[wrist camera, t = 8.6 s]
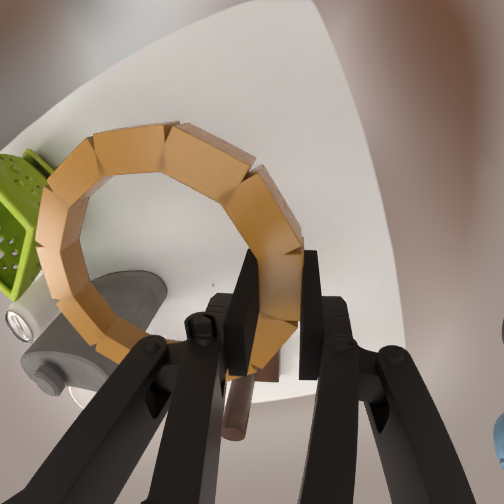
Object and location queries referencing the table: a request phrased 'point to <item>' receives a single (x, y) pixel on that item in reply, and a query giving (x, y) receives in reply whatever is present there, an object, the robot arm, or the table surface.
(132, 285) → the flask
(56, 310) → the can
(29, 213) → the flower pot
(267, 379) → the peg stand
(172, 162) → the hoop
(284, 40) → the table surface
